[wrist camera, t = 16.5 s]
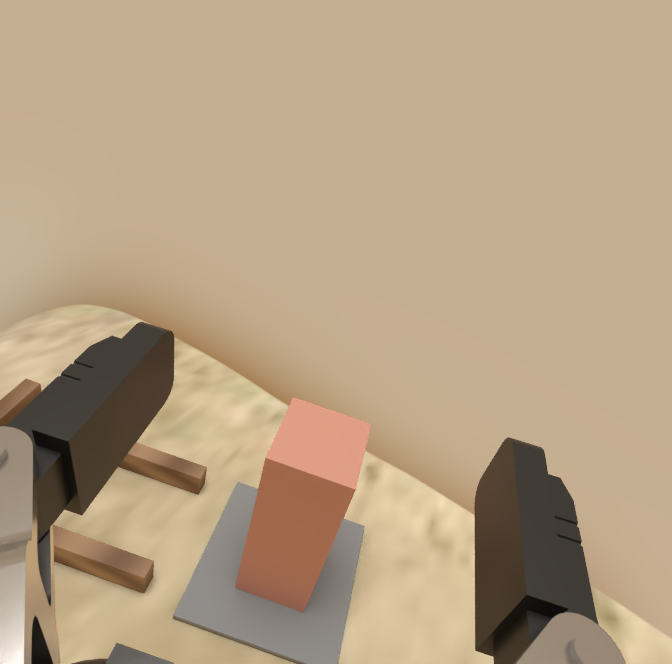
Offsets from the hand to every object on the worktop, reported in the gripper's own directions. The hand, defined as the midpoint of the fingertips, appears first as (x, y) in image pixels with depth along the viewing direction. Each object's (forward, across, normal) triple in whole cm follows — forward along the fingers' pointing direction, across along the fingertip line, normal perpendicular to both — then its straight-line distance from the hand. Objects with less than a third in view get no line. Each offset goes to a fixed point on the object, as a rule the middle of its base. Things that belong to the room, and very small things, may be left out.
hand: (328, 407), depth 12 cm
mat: (+10, +1, +28) cm, 30 cm away
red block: (+10, +1, +27) cm, 29 cm away
